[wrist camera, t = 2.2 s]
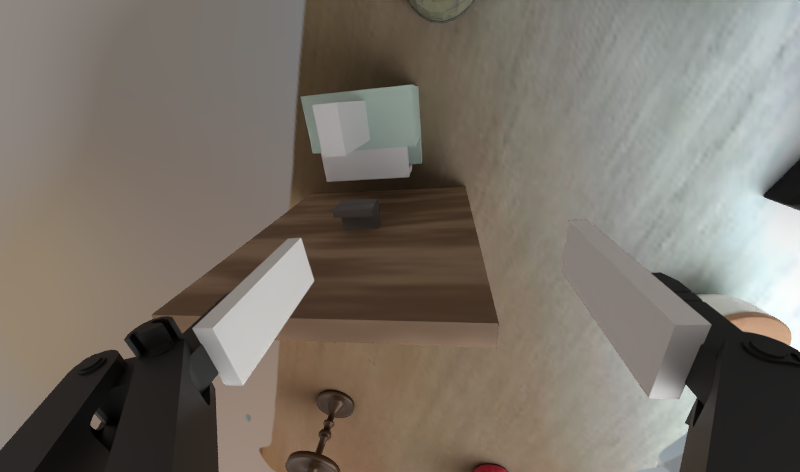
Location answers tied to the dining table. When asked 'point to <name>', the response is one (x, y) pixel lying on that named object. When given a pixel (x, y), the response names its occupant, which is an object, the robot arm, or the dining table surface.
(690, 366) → the robot arm
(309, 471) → the candlestick
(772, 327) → the lidded jar
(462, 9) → the thermos
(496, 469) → the red flared column
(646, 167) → the dining table surface
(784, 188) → the coral
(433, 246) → the wall board
